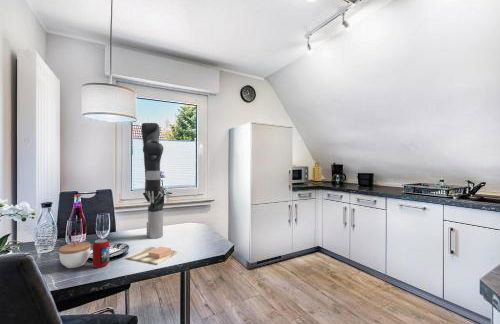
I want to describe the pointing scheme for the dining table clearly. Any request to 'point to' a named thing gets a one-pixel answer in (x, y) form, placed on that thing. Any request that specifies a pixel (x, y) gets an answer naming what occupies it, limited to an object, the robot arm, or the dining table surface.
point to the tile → (159, 252)
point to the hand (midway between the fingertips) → (153, 209)
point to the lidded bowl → (74, 254)
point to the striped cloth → (144, 257)
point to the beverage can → (100, 253)
